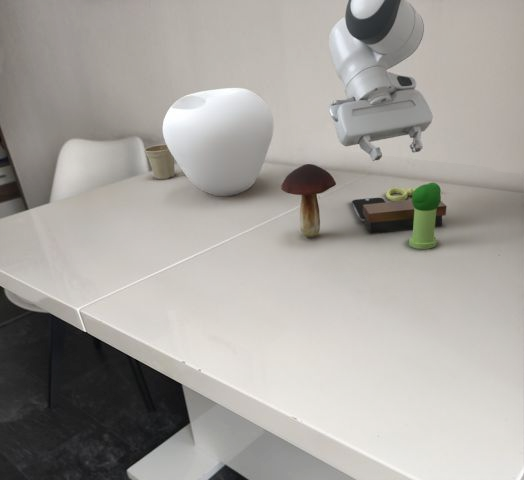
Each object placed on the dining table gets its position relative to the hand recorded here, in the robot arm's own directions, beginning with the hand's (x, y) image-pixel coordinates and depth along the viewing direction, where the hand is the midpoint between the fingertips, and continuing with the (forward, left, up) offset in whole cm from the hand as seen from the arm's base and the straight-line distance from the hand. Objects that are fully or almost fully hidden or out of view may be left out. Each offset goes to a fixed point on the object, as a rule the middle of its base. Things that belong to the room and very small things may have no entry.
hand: (398, 154), depth 105 cm
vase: (+36, -41, -16) cm, 57 cm away
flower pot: (+55, -63, -16) cm, 85 cm away
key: (-9, -21, -16) cm, 28 cm away
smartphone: (+2, -12, -15) cm, 20 cm away
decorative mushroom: (+18, -1, -16) cm, 24 cm away
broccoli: (-3, +9, -15) cm, 18 cm away
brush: (-2, -2, -15) cm, 16 cm away
